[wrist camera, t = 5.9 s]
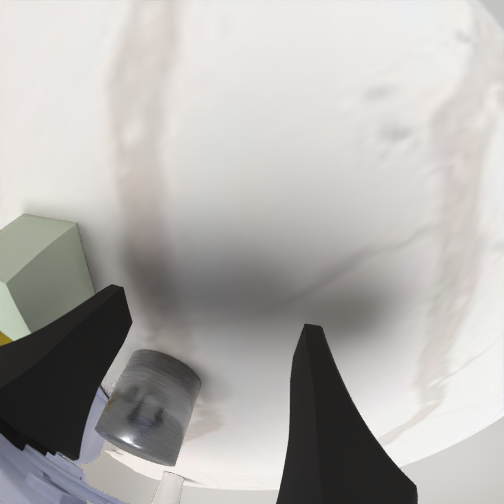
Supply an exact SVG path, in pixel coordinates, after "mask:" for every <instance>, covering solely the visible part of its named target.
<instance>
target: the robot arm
mask: <svg viewBox="0 0 504 504" xmlns="http://www.w3.org/2000/svg"><path fill="white" fill-rule="evenodd" d="M131 325H132V319H131V315H130V311H129V308H128V304H127V300H126V296H125V292H124V288H123V287H120V286H116V285H113V284H111V285H110V286H108V287H106V288H104V289H103V290H101V291H100V292H98V293H97V294H95V295H94V296H92V297H91V298H89V299H88V300H86V301H84V302H83V303H81V304H80V305H78V306H77V307H75V308H74V309H72V310H71V311H69V312H68V313H66V314H64V315H63V316H61V317H60V318H58V319H56V320H55V321H53V322H52V323H50V324H48V325H46V326H45V327H43V328H41V329H39V330H37V331H35V332H33V333H31V334H29V335H27V336H24V337H22V338H20V339H17V340H15V341H13V342H10V343H7V344H4V345H1V346H0V501H1V502H2V504H87V501H86V500H88V501H90V502H91V503H93V504H128V503H126V502H123V501H121V500H119V499H117V498H114V497H112V496H110V495H108V494H106V493H104V492H102V491H100V490H98V489H97V488H95V487H93V486H91V485H89V484H88V480H87V478H86V475H85V474H84V472H83V469H81V468H80V467H78V466H77V465H75V464H74V463H76V464H78V465H79V466H80V465H81V464H87V463H91V462H93V461H94V460H96V459H97V458H98V457H99V455H100V453H101V451H102V448H103V446H104V444H105V442H106V440H105V439H104V438H103V437H101V436H100V435H99V434H98V433H97V432H96V431H95V430H94V428H95V426H96V424H97V422H98V420H99V418H100V416H101V414H102V412H103V410H104V408H105V406H106V404H107V402H108V398H107V397H106V395H105V394H104V393H103V391H102V390H101V388H100V387H99V386H100V384H101V382H102V380H103V378H104V376H105V375H106V373H107V371H108V369H109V368H110V366H111V364H112V362H113V361H114V359H115V357H116V355H117V354H118V352H119V350H120V348H121V347H122V345H123V343H124V341H125V339H126V337H127V334H128V332H129V329H130V327H131ZM63 456H64V457H66V458H67V459H69V460H71V461H72V462H74V463H72V462H70V461H69V460H67V459H66V458H64V457H63ZM417 498H418V494H417V488H416V485H415V484H414V483H413V482H412V481H411V480H410V479H409V478H408V477H407V476H406V475H405V474H404V473H403V472H402V471H401V470H400V469H399V468H398V466H397V465H396V464H395V463H394V462H393V461H392V459H391V458H390V457H389V456H388V455H387V453H386V452H385V451H384V449H383V448H382V446H381V445H380V444H379V442H378V441H377V440H376V438H375V437H374V436H373V434H372V433H371V431H370V430H369V428H368V427H367V425H366V423H365V422H364V420H363V418H362V417H361V415H360V413H359V412H358V410H357V408H356V406H355V404H354V403H353V401H352V399H351V397H350V395H349V393H348V391H347V389H346V387H345V384H344V382H343V380H342V378H341V376H340V373H339V371H338V369H337V366H336V364H335V361H334V359H333V356H332V354H331V351H330V349H329V346H328V343H327V340H326V337H325V334H324V331H323V328H322V327H321V326H318V325H311V324H304V327H303V330H302V333H301V336H300V339H299V341H298V344H297V347H296V350H295V353H294V356H293V362H292V370H291V378H290V422H289V439H288V446H287V453H286V459H285V465H284V470H283V476H282V480H281V485H280V490H279V494H278V499H277V503H276V504H418V503H417V501H418V499H417Z"/></svg>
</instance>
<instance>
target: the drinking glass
mask: <svg viewBox="0 0 504 504" xmlns="http://www.w3.org/2000/svg"><path fill="white" fill-rule="evenodd" d="M183 483H184V478H183V477H182V476H179V475H176V474H173V473H170V472H164V474H163V477H162V479H161V482H160V484H159V486H158V489H157V491H156V493H155V495H154V497H153V500H152V502H151V504H179V503H180V497H181V491H182V487H183Z"/></svg>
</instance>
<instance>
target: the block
mask: <svg viewBox="0 0 504 504" xmlns="http://www.w3.org/2000/svg"><path fill="white" fill-rule="evenodd" d="M95 294H96V293H95V290H94V287H93V284H92V281H91V277H90V274H89V270H88V267H87V263H86V259H85V255H84V251H83V247H82V243H81V238H80V234H79V229H78V224H77V223H75V222H69V221H63V220H56V219H50V218H44V217H38V216H32V215H26V214H23V215H21V216H20V217H18V218H17V219H15V220H14V221H13V222H11V223H10V224H8V225H7V226H6V227H4V228H3V229H1V230H0V330H1V332H2V333H4V334H5V335H6V336H8V337H9V338H10V339H12V340H13V341H15V340H17V339H20V338H22V337H24V336H27V335H29V334H31V333H33V332H35V331H37V330H39V329H41V328H43V327H45V326H46V325H48V324H50V323H52V322H53V321H55V320H56V319H58V318H60V317H61V316H63V315H64V314H66V313H68V312H69V311H71V310H72V309H74V308H75V307H77V306H78V305H80V304H81V303H83V302H84V301H86V300H88V299H89V298H91V297H92V296H94V295H95Z"/></svg>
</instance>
